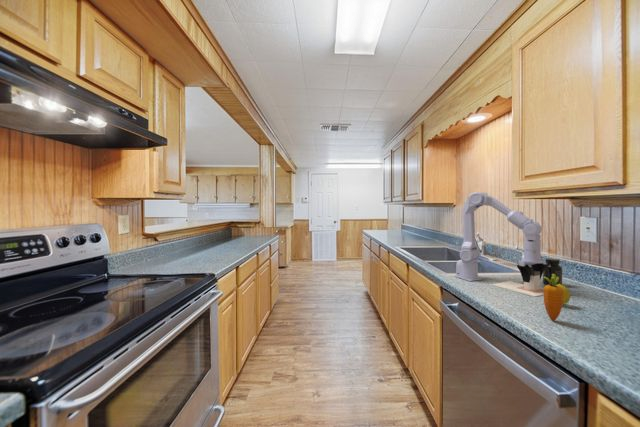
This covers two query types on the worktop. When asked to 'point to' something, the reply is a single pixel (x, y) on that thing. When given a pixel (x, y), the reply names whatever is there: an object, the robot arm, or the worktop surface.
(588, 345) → the worktop surface
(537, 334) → the worktop surface
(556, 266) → the supplement bottle
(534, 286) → the grey rectangular block
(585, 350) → the worktop surface
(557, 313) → the carrot
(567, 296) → the lemon
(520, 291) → the paper sheet
